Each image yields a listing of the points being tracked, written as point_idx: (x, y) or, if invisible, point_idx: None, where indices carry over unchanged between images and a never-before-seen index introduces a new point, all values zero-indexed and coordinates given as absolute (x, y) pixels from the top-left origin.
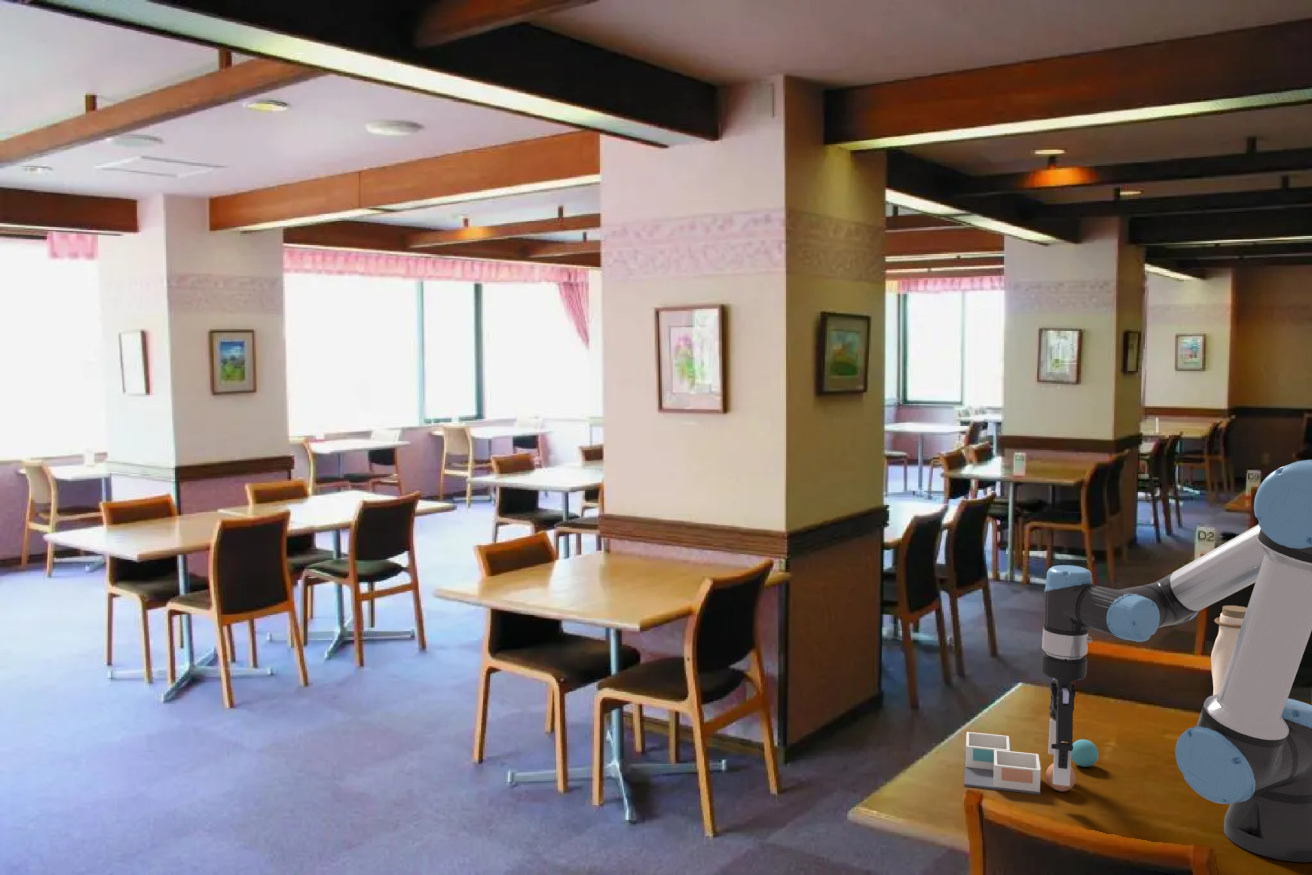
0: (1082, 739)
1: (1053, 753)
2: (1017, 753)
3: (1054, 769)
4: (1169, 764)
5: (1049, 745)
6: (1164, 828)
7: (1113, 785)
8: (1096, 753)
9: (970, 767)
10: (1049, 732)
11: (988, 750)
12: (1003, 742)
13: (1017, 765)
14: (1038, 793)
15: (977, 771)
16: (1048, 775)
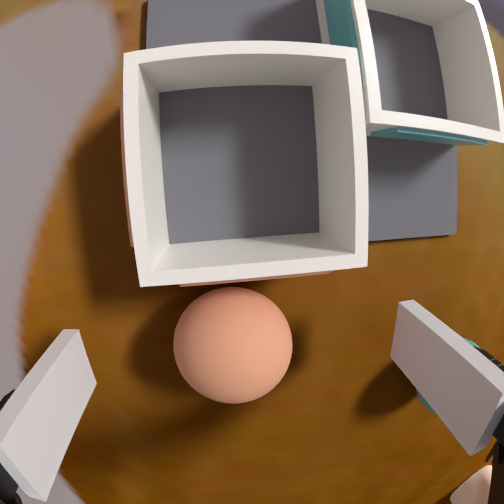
0: None
1: (398, 322)
2: (353, 161)
3: (36, 367)
4: (432, 466)
5: (419, 321)
6: (112, 487)
7: (317, 432)
8: (433, 412)
9: (315, 6)
10: (463, 347)
11: (349, 28)
12: (481, 123)
13: (328, 164)
14: None
15: (285, 23)
16: (198, 305)
